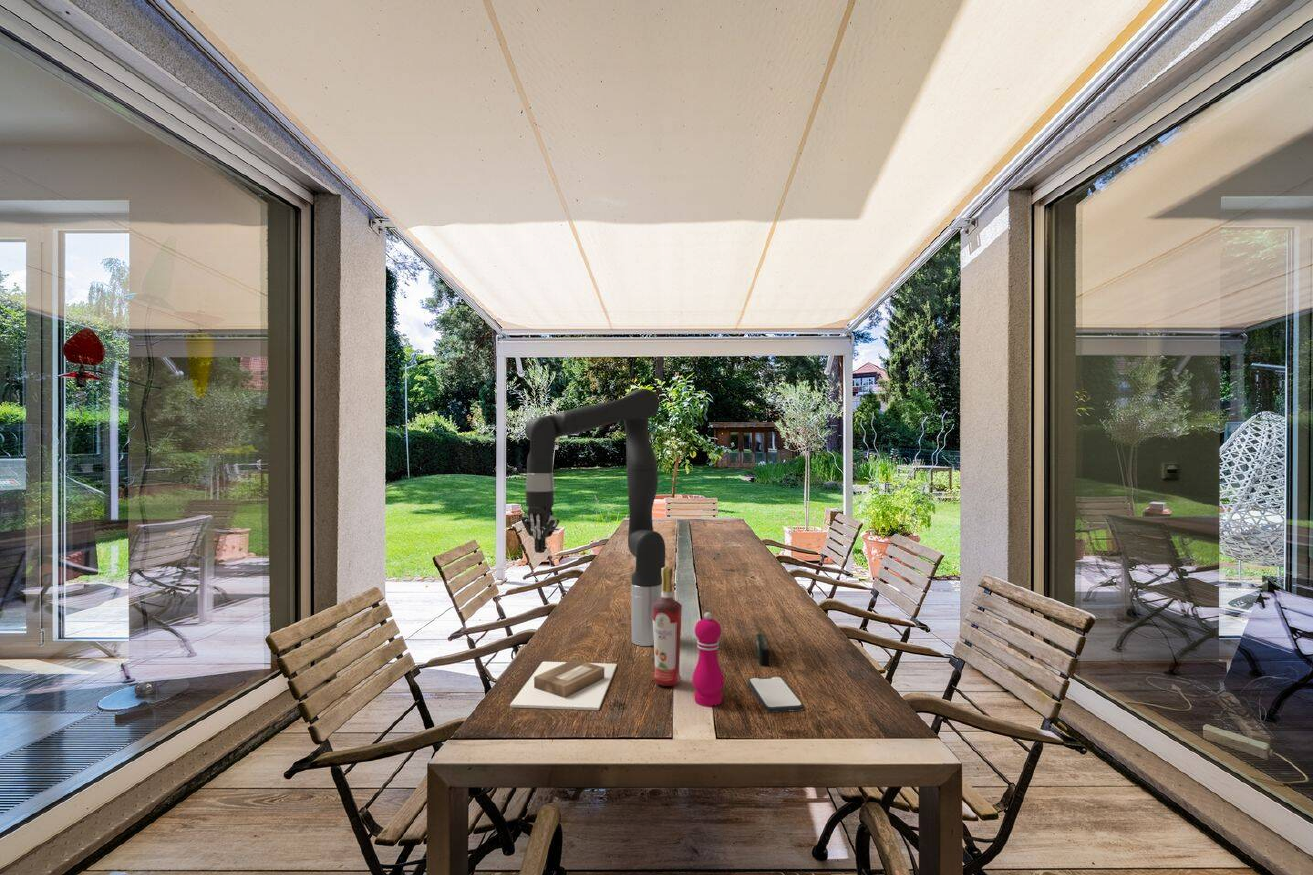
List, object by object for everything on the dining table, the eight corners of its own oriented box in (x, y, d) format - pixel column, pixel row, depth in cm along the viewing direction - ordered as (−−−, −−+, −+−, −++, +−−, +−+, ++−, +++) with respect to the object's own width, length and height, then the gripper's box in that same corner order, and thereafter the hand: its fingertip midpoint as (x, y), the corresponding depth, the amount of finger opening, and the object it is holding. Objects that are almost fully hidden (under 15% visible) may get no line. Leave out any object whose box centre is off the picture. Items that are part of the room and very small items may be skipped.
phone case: (805, 713, 127) (781, 682, 142) (805, 705, 127) (781, 675, 142) (766, 715, 126) (746, 684, 141) (766, 708, 126) (746, 677, 141)
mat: (616, 665, 153) (616, 663, 153) (598, 710, 127) (598, 707, 127) (542, 663, 154) (542, 661, 154) (510, 707, 128) (510, 704, 128)
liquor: (647, 686, 139) (647, 570, 140) (658, 675, 146) (657, 564, 147) (676, 690, 137) (676, 572, 137) (685, 679, 144) (685, 566, 144)
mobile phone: (770, 649, 152) (763, 629, 167) (759, 648, 152) (753, 629, 167) (770, 667, 152) (763, 646, 167) (759, 667, 152) (753, 646, 167)
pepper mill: (703, 710, 127) (702, 618, 127) (686, 697, 133) (686, 610, 134) (730, 703, 130) (730, 614, 130) (712, 691, 137) (712, 606, 137)
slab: (534, 676, 137) (564, 686, 132) (574, 658, 149) (604, 666, 143) (534, 687, 137) (564, 697, 132) (574, 669, 149) (604, 677, 143)
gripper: (567, 489, 159) (567, 552, 158) (533, 487, 166) (533, 548, 166) (547, 491, 152) (547, 557, 152) (513, 489, 160) (513, 552, 160)
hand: (539, 552), depth 159 cm, fingers closed
